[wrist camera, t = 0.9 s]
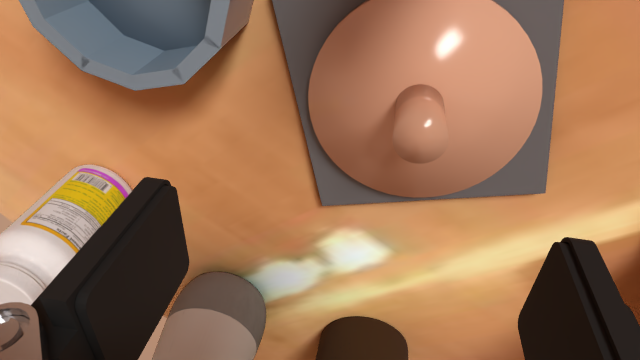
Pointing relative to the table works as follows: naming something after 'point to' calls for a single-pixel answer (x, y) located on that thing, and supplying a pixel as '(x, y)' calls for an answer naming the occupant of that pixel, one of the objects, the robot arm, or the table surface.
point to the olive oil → (361, 341)
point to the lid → (425, 94)
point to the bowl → (139, 36)
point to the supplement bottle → (56, 230)
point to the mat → (340, 189)
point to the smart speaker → (214, 320)
